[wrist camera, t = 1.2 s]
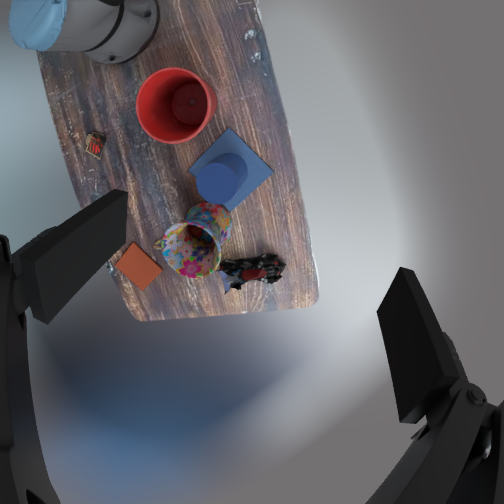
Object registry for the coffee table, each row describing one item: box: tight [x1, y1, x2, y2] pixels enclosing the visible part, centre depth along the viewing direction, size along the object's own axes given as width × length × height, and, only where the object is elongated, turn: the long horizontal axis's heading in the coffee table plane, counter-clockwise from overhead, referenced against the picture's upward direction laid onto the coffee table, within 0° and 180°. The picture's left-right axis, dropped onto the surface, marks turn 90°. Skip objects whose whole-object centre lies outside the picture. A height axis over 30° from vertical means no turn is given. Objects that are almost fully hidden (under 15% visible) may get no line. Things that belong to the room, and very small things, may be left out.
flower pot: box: [136, 67, 217, 144], centre depth 42 cm, size 11×11×10 cm
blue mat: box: [188, 128, 273, 212], centre depth 50 cm, size 10×10×1 cm
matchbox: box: [86, 132, 106, 160], centre depth 51 cm, size 5×5×1 cm
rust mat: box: [115, 242, 163, 291], centre depth 62 cm, size 8×8×1 cm
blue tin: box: [196, 153, 248, 204], centre depth 47 cm, size 6×6×8 cm
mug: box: [153, 202, 232, 278], centre depth 51 cm, size 12×9×11 cm
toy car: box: [216, 253, 286, 294], centre depth 57 cm, size 6×12×4 cm, turn 105°
